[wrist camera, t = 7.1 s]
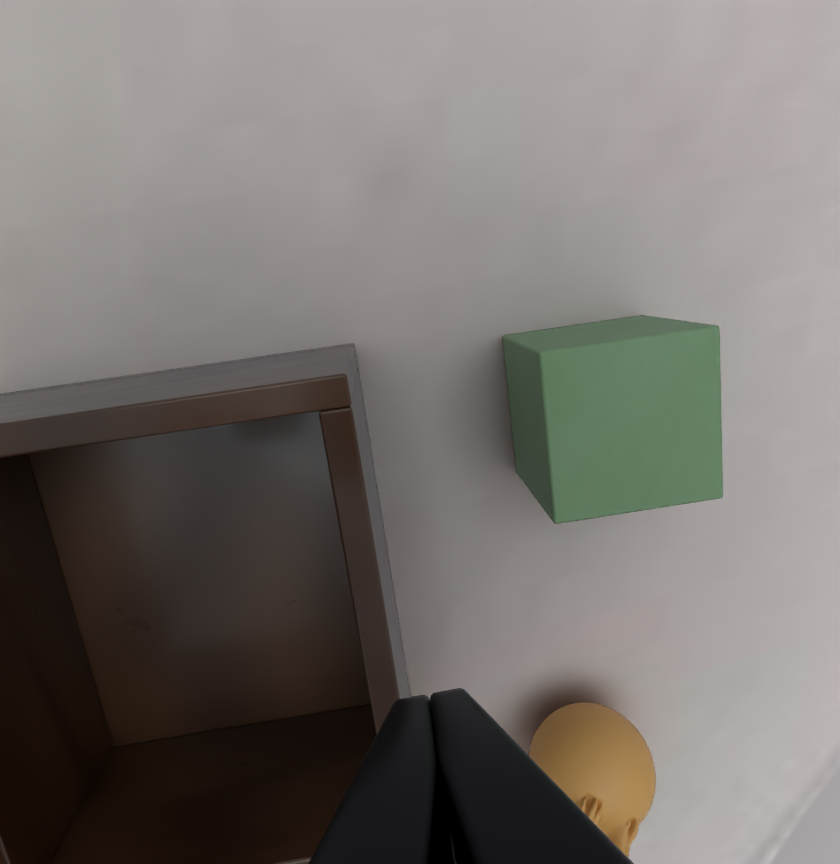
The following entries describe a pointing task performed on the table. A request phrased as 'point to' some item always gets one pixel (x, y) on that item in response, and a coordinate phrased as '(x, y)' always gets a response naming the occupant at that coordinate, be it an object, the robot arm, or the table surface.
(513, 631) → the table surface
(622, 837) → the figurine
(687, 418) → the block
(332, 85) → the table surface
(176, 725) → the box
